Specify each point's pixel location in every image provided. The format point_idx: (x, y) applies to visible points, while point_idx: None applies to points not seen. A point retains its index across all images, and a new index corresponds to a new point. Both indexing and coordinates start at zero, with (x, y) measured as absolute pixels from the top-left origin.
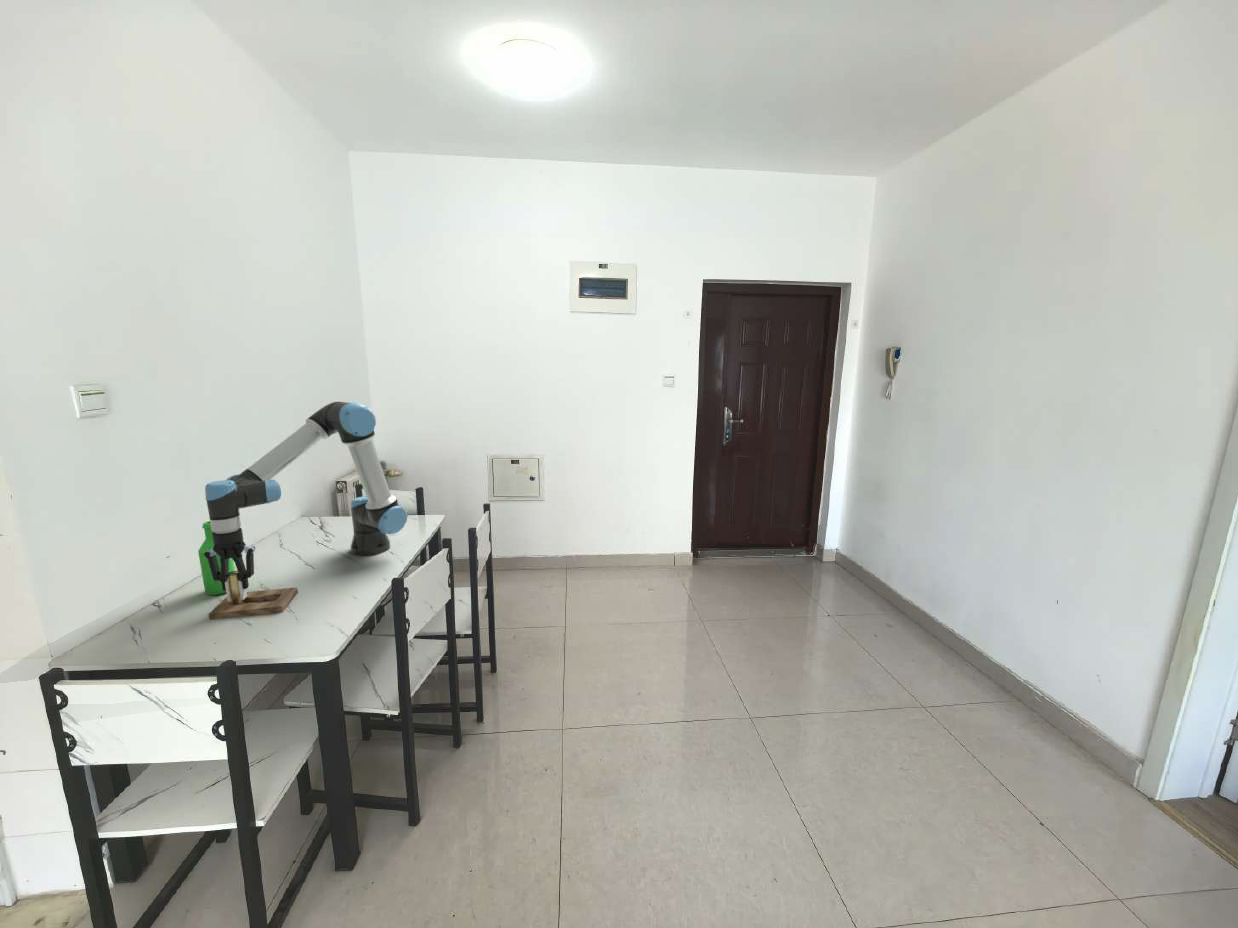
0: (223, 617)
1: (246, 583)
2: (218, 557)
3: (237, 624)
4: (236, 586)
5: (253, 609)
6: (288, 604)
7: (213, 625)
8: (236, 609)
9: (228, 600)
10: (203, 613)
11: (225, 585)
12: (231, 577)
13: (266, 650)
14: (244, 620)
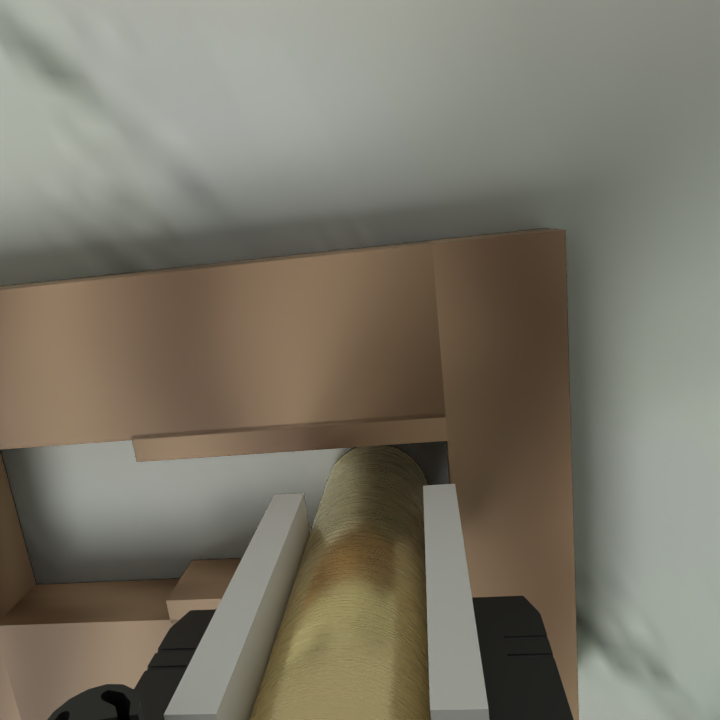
0: (404, 244)
1: (138, 684)
2: None
3: (158, 57)
4: (300, 633)
5: (73, 283)
6: None
7: (422, 64)
8: (269, 302)
9: (444, 486)
10: (696, 396)
11: (472, 646)
12: None
13: None
14: (139, 152)
